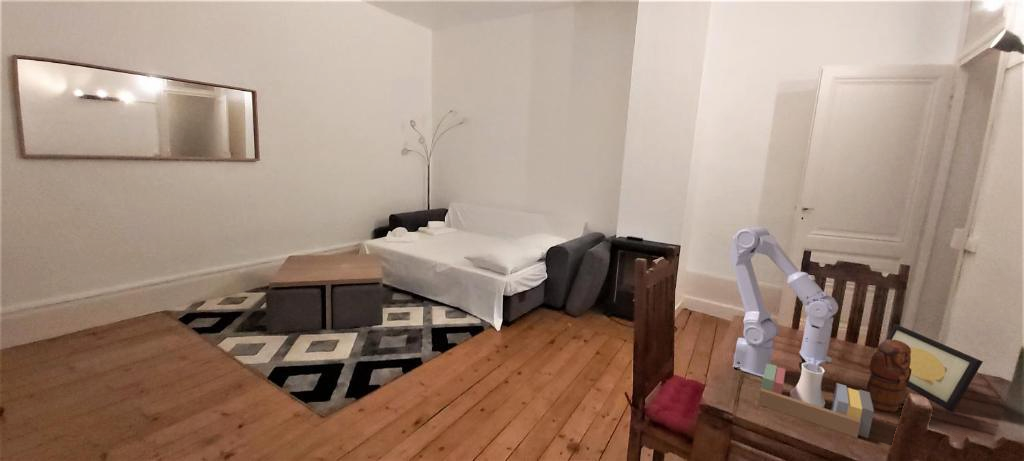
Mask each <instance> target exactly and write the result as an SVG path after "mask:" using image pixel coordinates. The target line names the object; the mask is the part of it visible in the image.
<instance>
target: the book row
mask: <svg viewBox="0 0 1024 461" xmlns="http://www.w3.org/2000/svg"><path fill="white" fill-rule="evenodd" d="M785 375H786V368H784V367H780V366H777V365H775V364H772V363H770V364H768V363H767V364H766V367H765V371H764V375H763V377H762V380H761V386H760V391H759V396H758V405H760V406H762V407H765V408H767V409H771V410H774V411H776V412H780V413H783V414H785V415H788V416H791V417H793V418H797V419H801V420H803V421H806V422H809V423H812V424H814V425H815V424H816V425H818V426H819V427H820V426H821V427H823V428H827V429H830V430H833V431H836V432H839V433H841V434H844V435H848V436H851V437H853V438H855V439H858V436H859V437H863V438H866V439H869V436H870V431H871V428H872V422H873V418H874V413H875V411H874V409H875V408H874V407H873V405H872V401H871V397H870V392H866V390H863V389H853V388H850V387H847V385H845V384H841V383H838V382H836V384H835V389H834V393H833V398H832V403H831V409H828V408H825V407H824V408H822V407H819V406H816V405H813V404H810V403H807V402H804V401H800V400H797V399H794V398H791V397H790V396H788V395H784V394H782V393H783V387H784V383H785Z"/></svg>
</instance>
